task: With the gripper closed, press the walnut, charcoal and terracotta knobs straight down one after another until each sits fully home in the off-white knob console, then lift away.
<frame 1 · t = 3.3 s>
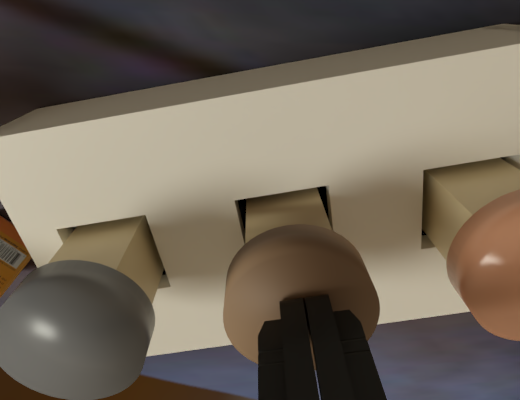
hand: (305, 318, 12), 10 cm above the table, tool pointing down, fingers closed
charcoal knob: (102, 285, 15), point 7 cm above the table, slide at 0.0 cm
knob console: (279, 183, 20), on the table
terracotta knob: (492, 226, 14), point 7 cm above the table, slide at 0.0 cm
supplement box: (9, 241, 22), on the table
walnut knob: (291, 256, 15), point 7 cm above the table, slide at 0.0 cm, touching gripper
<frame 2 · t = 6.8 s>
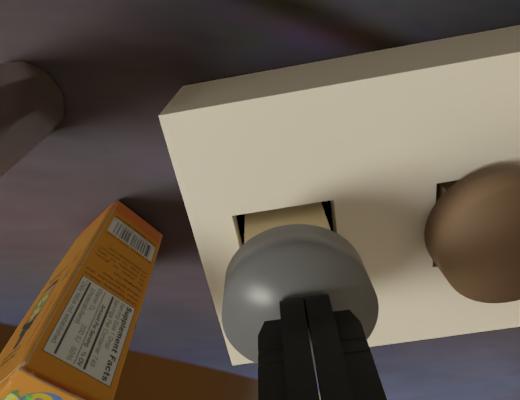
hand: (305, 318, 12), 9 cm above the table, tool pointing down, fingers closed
charcoal knob: (290, 256, 14), point 5 cm above the table, slide at 1.3 cm, touching gripper
knob console: (430, 169, 19), on the table
supplement box: (126, 232, 20), on the table
milkshake: (24, 89, 17), on the table
walnut knob: (467, 203, 16), point 4 cm above the table, slide at 3.0 cm
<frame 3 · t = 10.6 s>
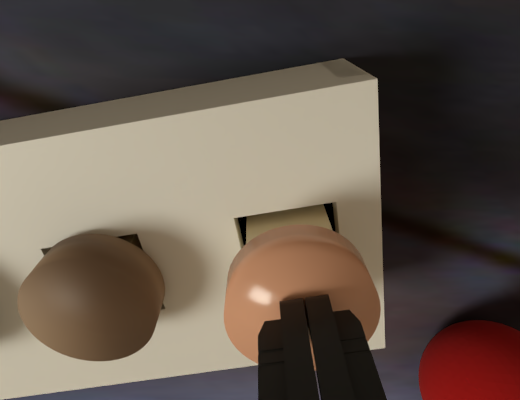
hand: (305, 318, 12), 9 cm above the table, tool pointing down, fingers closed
christmas ornament: (455, 334, 24), on the table
knob console: (139, 218, 20), on the table
terracotta knob: (292, 256, 15), point 5 cm above the table, slide at 1.4 cm, touching gripper
walnut knob: (116, 260, 16), point 4 cm above the table, slide at 3.0 cm
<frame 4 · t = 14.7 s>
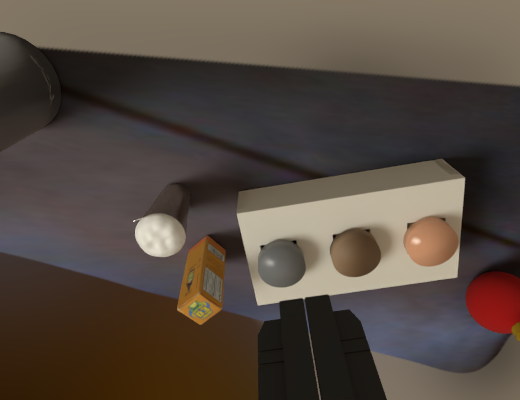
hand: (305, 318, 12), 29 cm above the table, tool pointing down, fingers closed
christmas ornament: (482, 281, 48), on the table
charcoal knob: (280, 250, 41), point 4 cm above the table, slide at 3.0 cm
knob console: (342, 222, 44), on the table
terracotta knob: (420, 229, 40), point 4 cm above the table, slide at 3.0 cm
supplement box: (209, 249, 46), on the table
milkshake: (174, 192, 42), on the table
walnut knob: (349, 240, 41), point 4 cm above the table, slide at 3.0 cm
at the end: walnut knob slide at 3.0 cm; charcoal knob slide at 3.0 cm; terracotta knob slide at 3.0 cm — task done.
